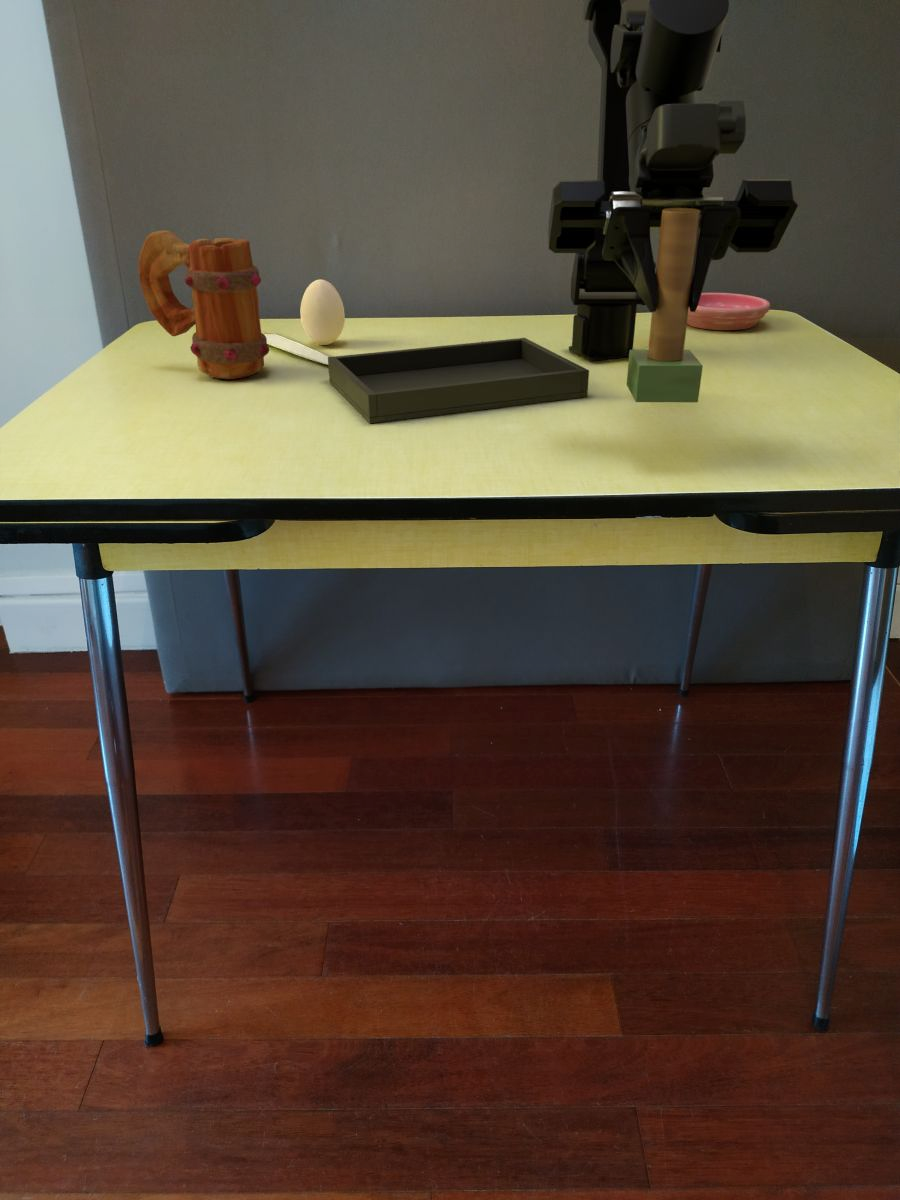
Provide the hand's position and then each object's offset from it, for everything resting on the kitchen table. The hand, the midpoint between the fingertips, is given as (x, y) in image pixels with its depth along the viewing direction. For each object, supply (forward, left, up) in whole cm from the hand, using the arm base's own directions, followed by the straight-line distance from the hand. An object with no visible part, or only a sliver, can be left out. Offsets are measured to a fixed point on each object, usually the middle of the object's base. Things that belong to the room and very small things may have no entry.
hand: (673, 308), depth 70 cm
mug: (+30, -45, -13) cm, 56 cm away
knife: (+21, -57, -13) cm, 62 cm away
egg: (+15, -53, -13) cm, 57 cm away
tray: (+7, -28, -13) cm, 32 cm away
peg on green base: (-1, -1, -7) cm, 7 cm away
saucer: (-38, -44, -13) cm, 60 cm away
